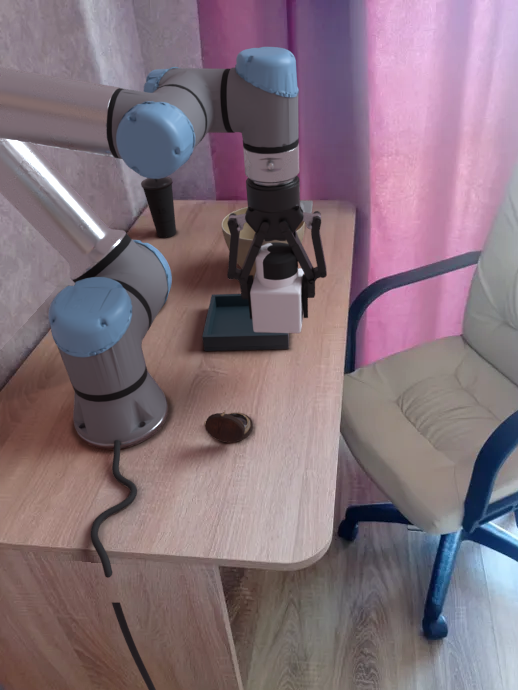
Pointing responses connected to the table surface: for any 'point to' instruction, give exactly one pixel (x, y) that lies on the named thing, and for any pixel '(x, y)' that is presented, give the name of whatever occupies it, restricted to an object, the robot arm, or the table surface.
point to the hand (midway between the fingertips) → (279, 313)
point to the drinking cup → (161, 205)
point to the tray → (236, 327)
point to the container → (277, 290)
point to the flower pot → (250, 238)
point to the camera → (306, 206)
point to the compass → (229, 426)
